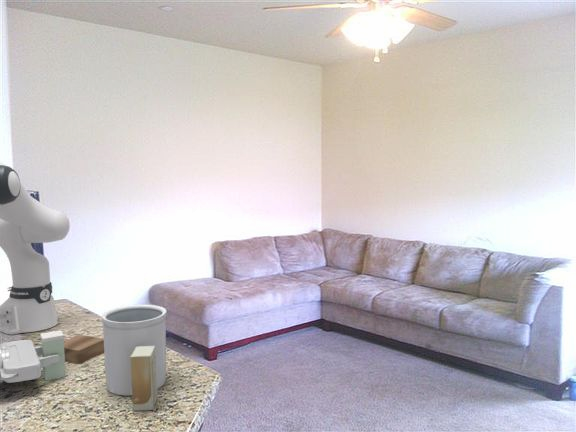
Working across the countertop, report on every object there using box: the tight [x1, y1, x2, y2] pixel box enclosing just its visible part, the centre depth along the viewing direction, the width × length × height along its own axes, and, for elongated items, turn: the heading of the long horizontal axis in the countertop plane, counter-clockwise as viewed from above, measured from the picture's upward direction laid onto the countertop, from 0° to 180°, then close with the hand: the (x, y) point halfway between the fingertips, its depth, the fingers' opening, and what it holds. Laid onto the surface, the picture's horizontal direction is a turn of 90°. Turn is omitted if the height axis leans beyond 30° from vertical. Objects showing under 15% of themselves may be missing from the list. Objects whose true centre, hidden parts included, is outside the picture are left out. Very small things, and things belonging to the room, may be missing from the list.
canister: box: [40, 329, 67, 381], centre depth 126 cm, size 5×5×11 cm
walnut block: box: [64, 334, 104, 365], centre depth 140 cm, size 10×10×4 cm
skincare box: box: [130, 346, 158, 412], centre depth 110 cm, size 6×4×12 cm
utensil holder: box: [101, 304, 168, 396], centre depth 120 cm, size 15×15×18 cm
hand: (57, 353), depth 127 cm, fingers open, 5 cm apart
